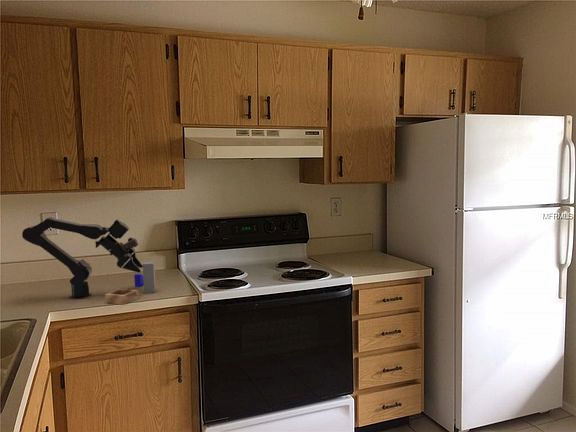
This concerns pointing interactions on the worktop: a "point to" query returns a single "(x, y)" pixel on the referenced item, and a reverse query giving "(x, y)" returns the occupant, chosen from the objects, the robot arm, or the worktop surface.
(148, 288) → the plain gray rectangular block
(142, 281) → the cable clip
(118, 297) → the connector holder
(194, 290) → the worktop surface
